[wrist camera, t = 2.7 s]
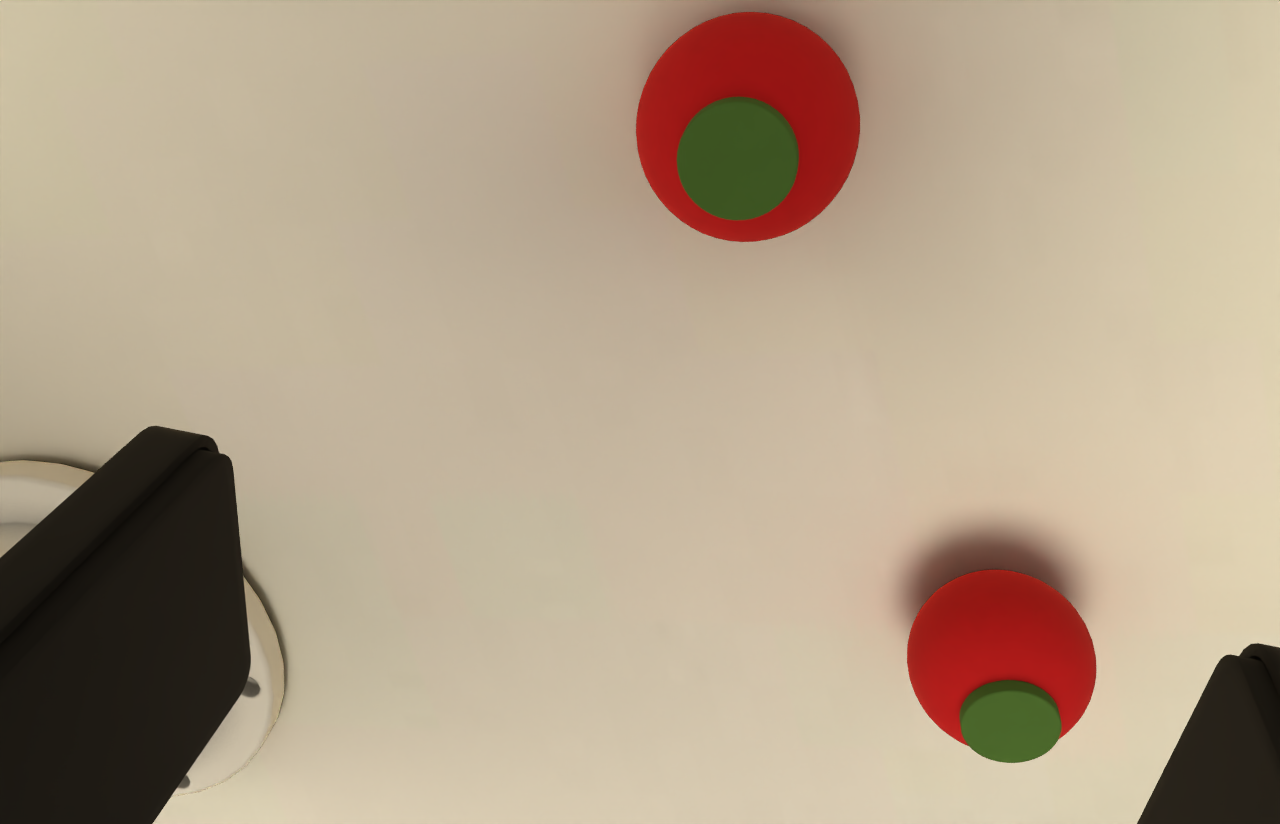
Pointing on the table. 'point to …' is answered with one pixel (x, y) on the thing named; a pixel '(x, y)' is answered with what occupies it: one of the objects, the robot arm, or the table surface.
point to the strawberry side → (1001, 663)
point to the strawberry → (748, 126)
